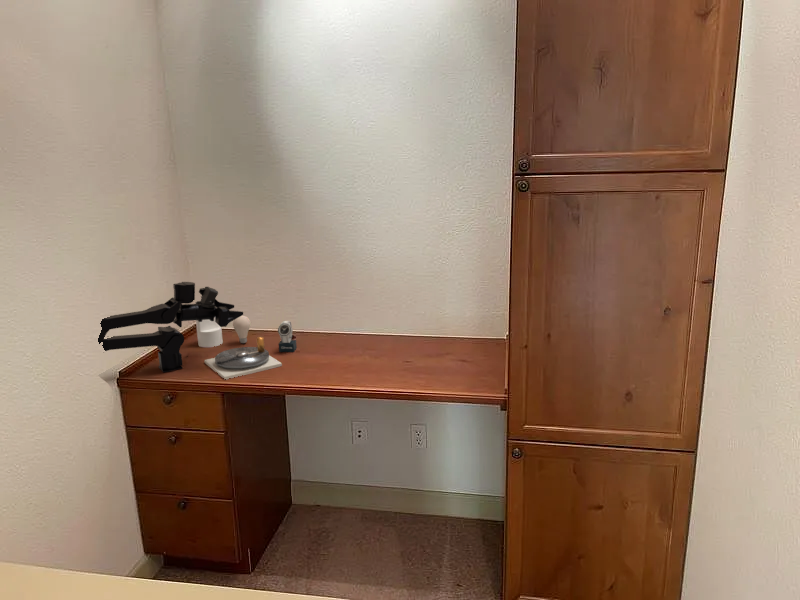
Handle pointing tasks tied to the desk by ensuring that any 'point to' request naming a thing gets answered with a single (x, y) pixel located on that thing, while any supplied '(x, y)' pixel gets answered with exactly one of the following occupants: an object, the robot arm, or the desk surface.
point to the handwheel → (243, 356)
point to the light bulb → (242, 327)
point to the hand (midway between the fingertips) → (238, 309)
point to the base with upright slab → (209, 333)
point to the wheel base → (233, 373)
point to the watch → (286, 337)
